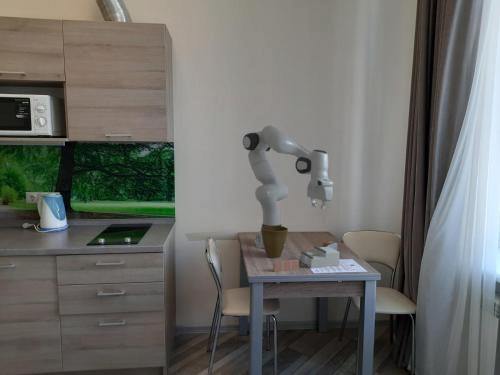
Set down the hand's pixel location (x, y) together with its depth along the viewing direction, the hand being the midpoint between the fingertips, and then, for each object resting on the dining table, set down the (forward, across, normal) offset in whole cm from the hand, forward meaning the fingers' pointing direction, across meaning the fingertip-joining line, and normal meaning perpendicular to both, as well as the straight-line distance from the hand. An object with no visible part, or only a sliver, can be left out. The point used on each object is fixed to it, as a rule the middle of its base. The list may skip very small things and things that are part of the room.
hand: (318, 207), depth 176 cm
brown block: (+29, +7, -21) cm, 37 cm away
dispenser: (+29, +3, 0) cm, 29 cm away
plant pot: (+29, -16, -18) cm, 38 cm away
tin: (+29, -7, +12) cm, 33 cm away
